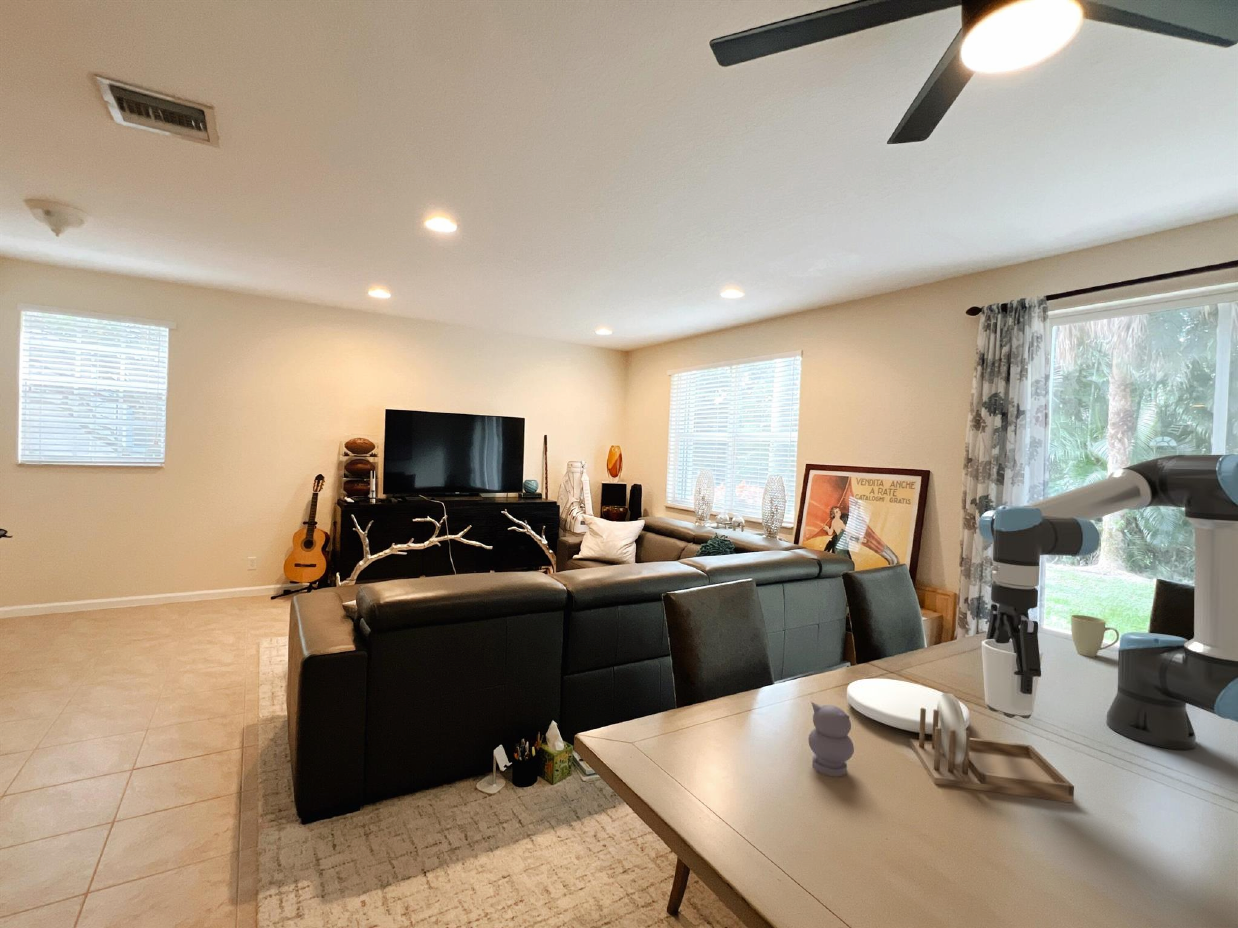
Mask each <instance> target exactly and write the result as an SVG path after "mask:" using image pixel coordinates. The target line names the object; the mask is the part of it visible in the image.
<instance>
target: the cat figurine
mask: <svg viewBox="0 0 1238 928" xmlns="http://www.w3.org/2000/svg"><path fill="white" fill-rule="evenodd" d="M811 705H812V710H813V715H812V722H813V726H814V728H813V729H812V730H811V731H810V733H809V735H808V746H809V748H810V750H811V751H812V752H813V756H812V762H811V763H812V765H811V766H812V767H813V768H814V769H813V770H816V771H817V772H819V773H820V774H822V775H824V776H825V775H826V776H830V777H843V776H844V775H846V774H847V769H848V764H847V761H850V759H851V758H852V757H853V754H854V751H855V747H854V743H853V741H852V739H851V737H850V736H849V733H850V732H851V729H852V723H851V719H850V715H848V714H847V713H846V712H845V711H844V710H843V709H841V708H840V707H838V706H836V705H832V704H823V705H819V704H817V703H815V702H814V701H811Z"/></svg>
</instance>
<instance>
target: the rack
mask: <svg viewBox="0 0 1238 928" xmlns="http://www.w3.org/2000/svg"><path fill="white" fill-rule="evenodd" d="M942 693H943V694H942V695H941V696H940V698H939V701H938V705H937V710H936V709H934V710H933V734H931V735H932V737H931V738H932V740H925V739H926V734H925V720H926V709H925V708H921V709H920V733H919V735H918V736H919V737H918V738H919V739H914V738H910V739H909V745H910V747H911V748H912V750H913V752H914V753H915V755H916V756H917V758H918V759H919V761H920V762H921V764H922V765H923V767H924V769H925V771H926V772H927V774H928V775H929V777H930V778H931V780H932V782H933V783H934V784H935V785H942V786H948V787H956V788H963V789H969V790H976V791H977V790H978V791H984V792H985V791H986V792H990V793H991V792H992V793H1000V794H1007V795H1013V796H1022V797H1028V798H1035V799H1042V800H1050V801H1057V802H1064V803H1065V802H1066V803H1074V801H1075V800H1074V797H1075V786H1074V785H1073V784H1072V783H1071V782H1070V781H1069V780H1068V779H1067V778H1066V777H1065V776H1064V775H1063V774H1062V773H1061V772H1060V771H1059V770H1058V769H1056V768H1055V767H1054V766H1053V765H1052V764H1051V763H1050V762H1049V761H1048V760H1047V759H1046V758H1045V757H1044V756H1043V755H1042V754H1041V753H1039V752H1038V751H1037V750H1036V749H1035V748H1034V747H1033V745H1031V744H1023V743H1016V742H1008V741H1007V742H1006V741H999V740H991V739H990V740H989V739H984V738H983V739H981V738H974V737H973V738H972V737H971V734H970V732H971V731H968V730H967V728H966V727H965V721H964V716H963V712H962V709H961V706H960V704H959V702H958V701H959V700H958V699H957V697H956V696H955V695H954V694H952V693H949V692H947V693H946V692H942Z"/></svg>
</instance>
